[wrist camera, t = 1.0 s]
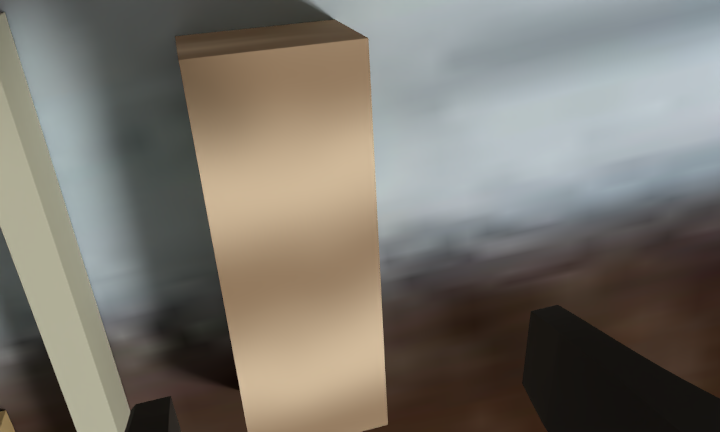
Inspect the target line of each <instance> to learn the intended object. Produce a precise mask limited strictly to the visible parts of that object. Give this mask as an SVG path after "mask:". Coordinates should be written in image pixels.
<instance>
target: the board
mask: <svg viewBox="0 0 720 432" xmlns="http://www.w3.org/2000/svg"><path fill="white" fill-rule="evenodd" d="M175 40H176V46H177V53H178V60H179V65H180V71H181V76H182V82H183V87H184V92H185V98H186V103H187V108H188V114H189V119H190V124H191V130H192V135H193V141H194V146H195V151H196V157H197V162H198V167H199V173H200V178H201V183H202V189H203V194H204V200H205V205H206V210H207V216H208V221H209V226H210V232H211V237H212V243H213V248H214V253H215V259H216V264H217V269H218V275H219V280H220V285H221V291H222V296H223V302H224V307H225V312H226V318H227V323H228V328H229V334H230V339H231V344H232V350H233V355H234V361H235V366H236V371H237V377H238V382H239V387H240V393H241V398H242V403H243V409H244V414H245V420H246V425H247V430H248V432H362V431H365V430H369V429H373V428H377V427H380V426H384V425H388V419H387V399H386V380H385V360H384V340H383V320H382V300H381V281H380V261H379V241H378V221H377V202H376V182H375V162H374V142H373V123H372V103H371V83H370V63H369V44H368V38H367V37H365V36H363V35H362V34H360V33H358V32H356V31H354V30H353V29H351V28H349V27H347V26H345V25H344V24H342V23H340V22H338V21H337V20H335V19H334V20H324V21H315V22H305V23H296V24H286V25H277V26H268V27H258V28H249V29H239V30H230V31H220V32H211V33H201V34H192V35H182V36H175Z"/></svg>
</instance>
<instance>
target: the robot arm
mask: <svg viewBox="0 0 720 432" xmlns="http://www.w3.org/2000/svg"><path fill="white" fill-rule="evenodd" d="M522 383H523V385H524V388H525V390H526V392H527V394H528V396H529V398H530V400H531V402H532V404H533V406H534V408H535V410H536V411H537V413H538V415H539V417H540V419H541V421H542V423H543V424H544V426H545V428H546V430H547V431H548V432H720V399H719V398H717V397H716V396H714V395H712V394H710V393H708V392H706V391H704V390H702V389H700V388H698V387H697V386H695V385H693V384H691V383H689V382H687V381H685V380H683V379H681V378H680V377H678V376H676V375H674V374H672V373H671V372H669V371H667V370H665V369H664V368H662V367H660V366H658V365H657V364H655V363H653V362H651V361H650V360H648V359H646V358H645V357H643V356H641V355H640V354H638V353H636V352H635V351H633V350H631V349H630V348H628V347H626V346H625V345H623V344H621V343H620V342H618V341H616V340H615V339H613V338H612V337H610V336H608V335H607V334H605V333H603V332H602V331H600V330H598V329H597V328H595V327H594V326H592V325H590V324H589V323H587V322H586V321H584V320H582V319H581V318H579V317H577V316H576V315H574V314H572V313H571V312H569V311H567V310H566V309H564V308H562V307H560V306H559V305H555V306H551V307H547V308H543V309H538V310H534V311H531V315H530V323H529V332H528V340H527V348H526V357H525V365H524V373H523V382H522ZM125 432H181V430H180V426H179V423H178V419H177V416H176V413H175V409H174V406H173V402H172V399H171V396H169V397H165V398H161V399H156V400H152V401H148V402H144V403H140V404H136V405H135V406H134V407H133V408H132V410H131V412H130V415H129V419H128V422H127V426H126V429H125Z"/></svg>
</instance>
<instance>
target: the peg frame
mask: <svg viewBox="0 0 720 432" xmlns="http://www.w3.org/2000/svg"><path fill="white" fill-rule="evenodd" d="M0 227H1V229H2V232H3V235H4V237H5V240H6V243H7V245H8V248H9V251H10V253H11V256H12V259H13V262H14V264H15V267H16V270H17V272H18V275H19V278H20V280H21V283H22V286H23V288H24V291H25V294H26V296H27V299H28V302H29V304H30V307H31V310H32V312H33V315H34V318H35V321H36V323H37V326H38V329H39V331H40V334H41V337H42V339H43V342H44V345H45V347H46V350H47V353H48V355H49V358H50V361H51V363H52V366H53V369H54V371H55V374H56V377H57V380H58V382H59V385H60V388H61V390H62V393H63V396H64V398H65V401H66V404H67V406H68V409H69V412H70V414H71V417H72V420H73V422H74V425H75V428H76V430H77V432H125V429H126V426H127V422H128V419H129V415H130V409H129V406H128V403H127V400H126V396H125V393H124V390H123V387H122V384H121V380H120V377H119V374H118V371H117V368H116V365H115V361H114V358H113V355H112V352H111V349H110V345H109V342H108V339H107V336H106V333H105V330H104V326H103V323H102V320H101V317H100V314H99V310H98V307H97V304H96V301H95V298H94V295H93V291H92V288H91V285H90V282H89V279H88V275H87V272H86V269H85V266H84V263H83V260H82V256H81V253H80V250H79V247H78V244H77V240H76V237H75V234H74V231H73V228H72V225H71V221H70V218H69V215H68V212H67V209H66V205H65V202H64V199H63V196H62V193H61V190H60V186H59V183H58V180H57V177H56V174H55V170H54V167H53V164H52V161H51V158H50V155H49V151H48V148H47V145H46V142H45V139H44V136H43V132H42V129H41V126H40V123H39V120H38V116H37V113H36V110H35V107H34V104H33V101H32V97H31V94H30V91H29V88H28V85H27V81H26V78H25V75H24V72H23V69H22V66H21V62H20V59H19V56H18V53H17V50H16V46H15V43H14V40H13V37H12V34H11V31H10V27H9V24H8V21H7V18H6V15H5V12H3V13H0ZM0 432H15V430H14V428H13V426H12V423H11V421H10V419H9V416H8V414H7V412H6V410H5V411H1V412H0Z"/></svg>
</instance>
